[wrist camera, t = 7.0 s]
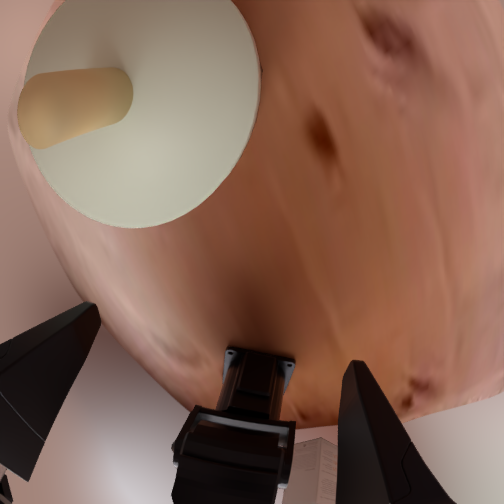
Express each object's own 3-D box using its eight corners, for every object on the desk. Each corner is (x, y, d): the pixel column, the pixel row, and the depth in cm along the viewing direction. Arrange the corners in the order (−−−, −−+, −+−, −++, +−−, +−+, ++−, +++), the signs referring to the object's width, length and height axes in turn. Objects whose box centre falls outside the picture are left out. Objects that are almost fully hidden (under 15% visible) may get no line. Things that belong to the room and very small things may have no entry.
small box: (289, 443, 37) (279, 507, 28) (322, 436, 34) (315, 504, 26) (318, 458, 39) (312, 514, 30) (349, 451, 37) (345, 511, 28)
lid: (248, 227, 16) (211, 315, 10) (57, 195, 17) (-13, 244, 12) (282, -28, 9) (257, -102, 3) (58, 3, 10) (-27, 1, 4)
